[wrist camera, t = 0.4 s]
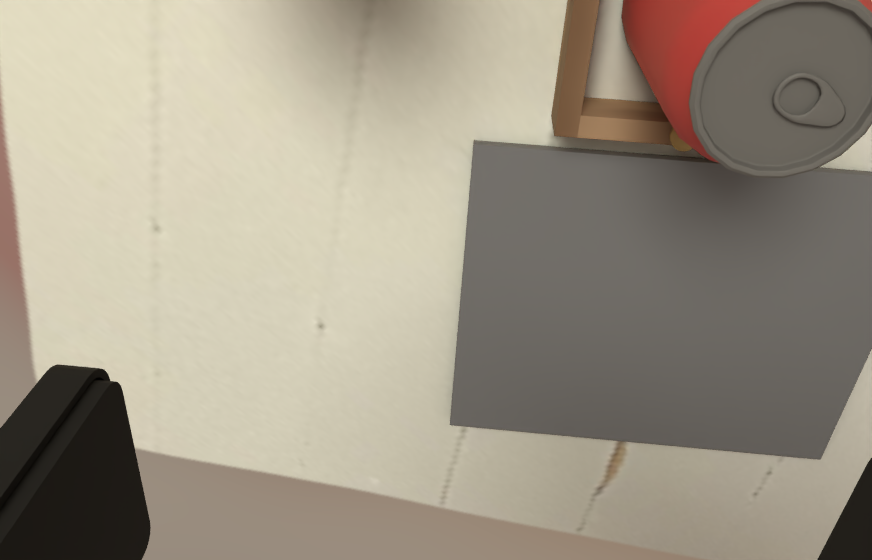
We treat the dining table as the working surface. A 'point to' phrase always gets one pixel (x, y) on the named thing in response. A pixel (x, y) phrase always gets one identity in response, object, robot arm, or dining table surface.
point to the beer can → (758, 77)
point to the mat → (661, 299)
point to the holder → (596, 114)
